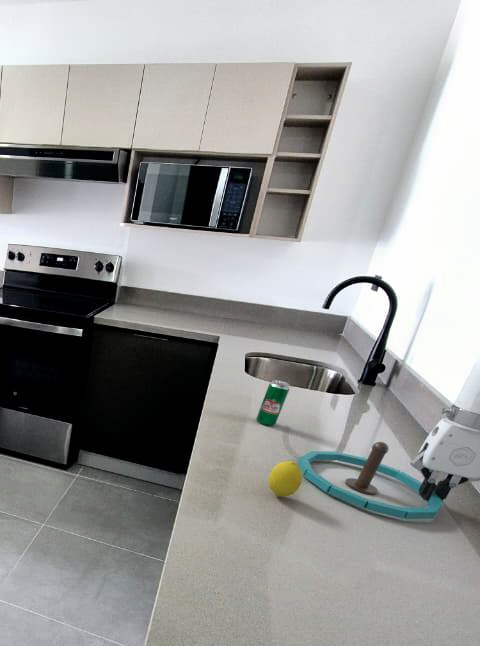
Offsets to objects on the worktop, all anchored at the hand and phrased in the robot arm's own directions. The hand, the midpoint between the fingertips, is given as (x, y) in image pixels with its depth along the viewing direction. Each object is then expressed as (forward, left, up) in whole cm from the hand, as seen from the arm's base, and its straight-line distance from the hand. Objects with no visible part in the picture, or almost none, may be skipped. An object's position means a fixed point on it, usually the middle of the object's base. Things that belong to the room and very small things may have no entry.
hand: (429, 498), depth 106 cm
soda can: (+29, -30, -2) cm, 41 cm away
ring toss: (+13, 0, -1) cm, 13 cm away
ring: (+12, 0, -1) cm, 12 cm away
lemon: (+32, +16, -2) cm, 35 cm away
